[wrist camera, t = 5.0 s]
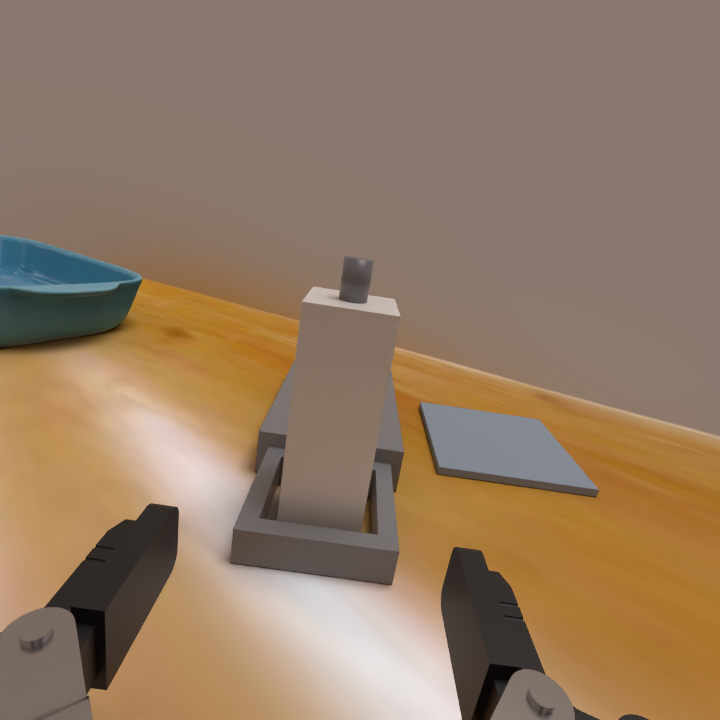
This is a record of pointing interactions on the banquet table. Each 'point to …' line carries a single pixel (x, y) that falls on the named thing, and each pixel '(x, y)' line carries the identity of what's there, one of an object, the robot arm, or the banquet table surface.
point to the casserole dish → (58, 293)
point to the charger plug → (337, 401)
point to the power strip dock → (312, 543)
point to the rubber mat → (500, 450)
